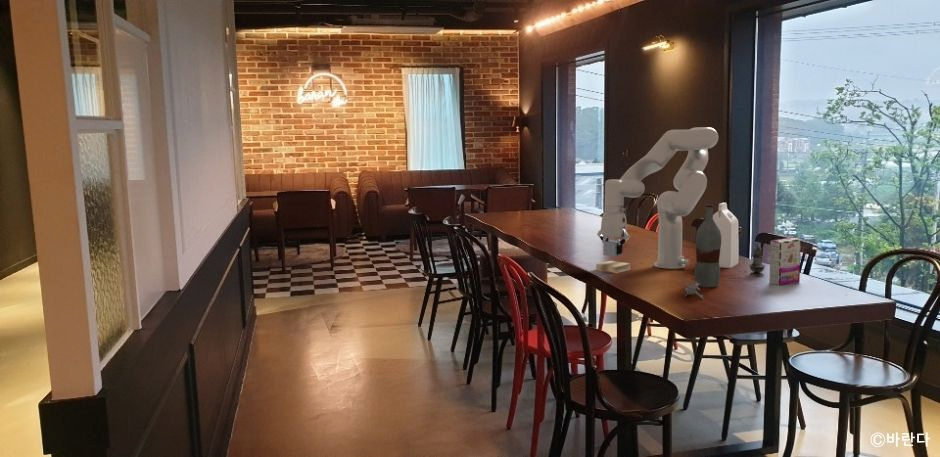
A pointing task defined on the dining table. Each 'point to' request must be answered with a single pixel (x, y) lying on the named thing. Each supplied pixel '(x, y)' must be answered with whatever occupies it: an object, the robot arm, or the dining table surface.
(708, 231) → the bottle
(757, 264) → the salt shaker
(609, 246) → the slate cube
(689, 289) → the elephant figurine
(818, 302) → the dining table surface
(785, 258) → the candy bar box
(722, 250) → the milk
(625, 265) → the beech block
